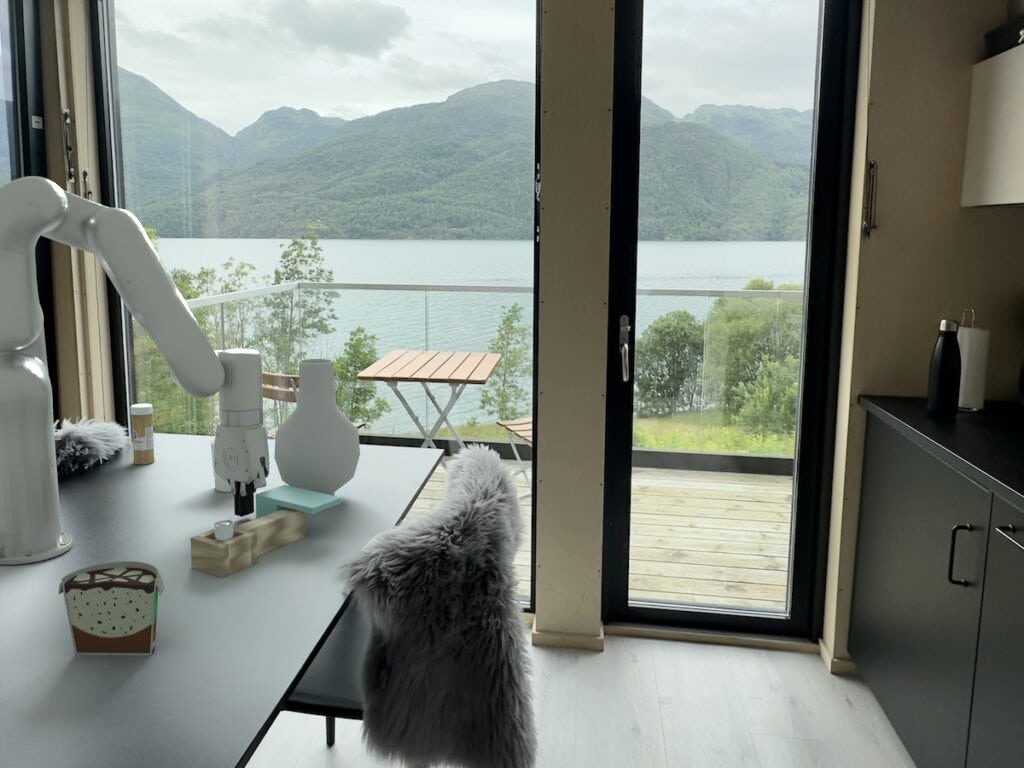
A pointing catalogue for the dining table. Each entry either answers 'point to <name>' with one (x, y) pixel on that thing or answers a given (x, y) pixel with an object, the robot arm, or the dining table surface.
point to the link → (246, 542)
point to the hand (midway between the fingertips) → (244, 513)
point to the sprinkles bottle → (142, 433)
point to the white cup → (219, 482)
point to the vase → (317, 435)
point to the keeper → (293, 500)
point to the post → (224, 530)
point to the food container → (113, 608)
